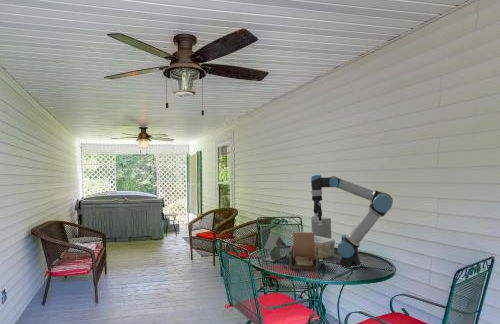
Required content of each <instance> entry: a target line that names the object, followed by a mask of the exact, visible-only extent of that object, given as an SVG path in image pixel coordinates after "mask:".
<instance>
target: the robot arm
mask: <svg viewBox="0 0 500 324" xmlns="http://www.w3.org/2000/svg"><path fill="white" fill-rule="evenodd" d="M310 180H311V181H310V183H311V185H310V186H311V191H310V193H311V195H312V196H311V201H313V213H314V215H313V216H314V218H315V222H318V225H322V217H323V209H322V204H321V203H322V202H321V201H323V189H322V188H337V189H340V190H342V191H345V192H346V193H349V194H352V195H354V196H357V197H360V198H363V199H365V200H367V201H370V204H369V206H368V211H366V213H365V214H364V215H363V217H362V218H361V219H360V220H359V222H358V223H357V224H356V225H355V227H354V228H353V230H352V231H351V232H350V233H349V234H343V235H341V238H340V239H341V241H340V242H339V243H338V245H337V252H338V254H339V255H340V256H341V259H340V263H339V265H340V266H341V265H342V266H345V267H344V268H346V267H351V266H357V265H360V264H361V259H360V257H359V248H360V246H361V243H360V242H361V241H362V240H363V239H364V238H365V237H366V235H367V234H368V233H369V231H370V230H371V229H372V227H374V225H375V224H377V223H376V222H377V221H379V219H380V218H382V217H384V216H385V215H386V214H387V212H389V211H390V210H391V209H392V207H393V202H394V201H393V197H392V196H391V195H390V194H388V193H387V192H386V193H385V192H382V191H378V190H372V189H369V188H366V187H364V186H361V185H359V184H355V183H353V182H350V181H348V180H345V179H341V178H339V177H337V176H335V175H332V176H329V177H328V176H327V177H322V175H321V174H313V175H311V177H310ZM361 265H362V264H361ZM342 266H341V267H342Z"/></svg>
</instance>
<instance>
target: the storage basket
mask: <svg viewBox="0 0 500 324" xmlns="http://www.w3.org/2000/svg"><path fill="white" fill-rule="evenodd" d="M335 243H336V241H335V239H333V238H332V239H329V238H324V237H319V236H314V245H315V258H316V246H318V258H319V259H326V258H330V257H334V256H335Z"/></svg>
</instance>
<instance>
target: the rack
mask: <svg viewBox="0 0 500 324" xmlns="http://www.w3.org/2000/svg"><path fill="white" fill-rule="evenodd" d="M319 259H320V258H319V257H318V246H316V257H315V260H313V263H314V266H310V265H294V264H295V262H297V261H295V260H294V245H290V247H289V250H288V261H289V263H288V264H289V266H288V267H289V270H292V269H293V270H319V265H320V263H319Z"/></svg>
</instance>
